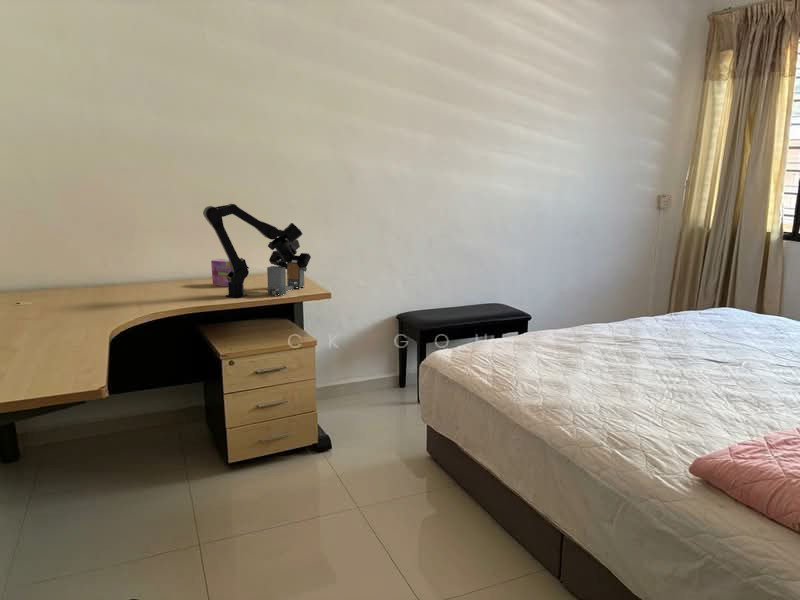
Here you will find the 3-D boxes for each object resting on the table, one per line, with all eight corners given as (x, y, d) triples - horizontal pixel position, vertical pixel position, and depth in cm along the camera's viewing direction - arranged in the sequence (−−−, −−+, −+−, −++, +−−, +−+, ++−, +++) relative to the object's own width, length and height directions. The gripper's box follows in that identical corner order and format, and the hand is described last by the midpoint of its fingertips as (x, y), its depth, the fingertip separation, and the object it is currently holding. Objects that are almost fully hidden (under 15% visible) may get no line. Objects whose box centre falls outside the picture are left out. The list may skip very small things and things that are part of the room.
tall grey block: (281, 296, 255) (280, 268, 252) (268, 295, 257) (267, 267, 254) (286, 294, 259) (285, 266, 256) (273, 293, 261) (272, 265, 258)
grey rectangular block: (299, 289, 270) (299, 262, 267) (287, 288, 272) (286, 261, 269) (304, 287, 274) (303, 261, 271) (292, 286, 276) (291, 260, 273)
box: (212, 285, 274) (210, 260, 272) (219, 283, 280) (218, 258, 277) (232, 287, 271) (231, 261, 269) (239, 285, 277) (237, 259, 274)
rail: (276, 296, 255) (275, 291, 254) (271, 295, 256) (271, 291, 255) (303, 286, 277) (303, 281, 277) (299, 285, 278) (299, 281, 277)
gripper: (308, 235, 260) (321, 257, 273) (272, 233, 267) (286, 254, 280) (299, 255, 255) (312, 277, 267) (262, 252, 262) (277, 273, 274)
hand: (297, 269), depth 272 cm, fingers open, 9 cm apart
